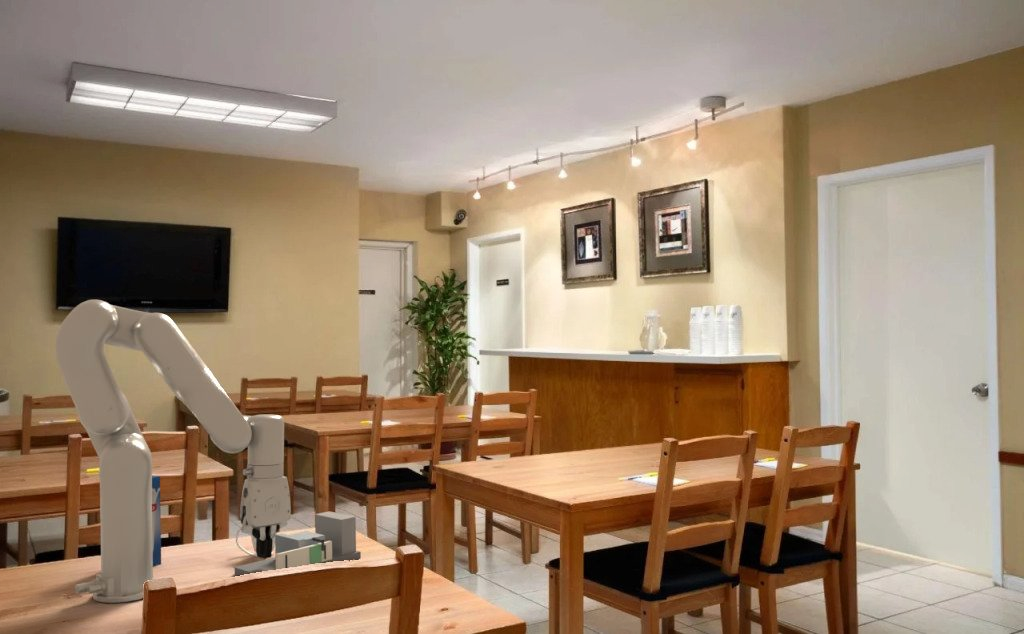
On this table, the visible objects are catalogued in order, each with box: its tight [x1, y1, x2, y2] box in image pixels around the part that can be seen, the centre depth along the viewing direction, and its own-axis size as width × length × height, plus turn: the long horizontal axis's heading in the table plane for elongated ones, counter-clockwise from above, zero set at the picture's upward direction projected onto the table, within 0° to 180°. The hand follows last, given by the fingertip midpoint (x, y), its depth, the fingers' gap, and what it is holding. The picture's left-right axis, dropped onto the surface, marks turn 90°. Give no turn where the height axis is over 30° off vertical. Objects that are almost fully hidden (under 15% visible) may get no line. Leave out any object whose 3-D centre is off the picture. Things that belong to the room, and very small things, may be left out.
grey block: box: [274, 530, 325, 558], centre depth 188 cm, size 8×12×5 cm, turn 49°
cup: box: [235, 526, 278, 558], centre depth 198 cm, size 7×10×8 cm
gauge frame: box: [234, 510, 362, 576], centre depth 188 cm, size 25×12×10 cm, turn 139°
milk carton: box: [152, 475, 162, 567], centre depth 190 cm, size 10×6×20 cm, turn 146°
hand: (264, 556), depth 182 cm, fingers closed
